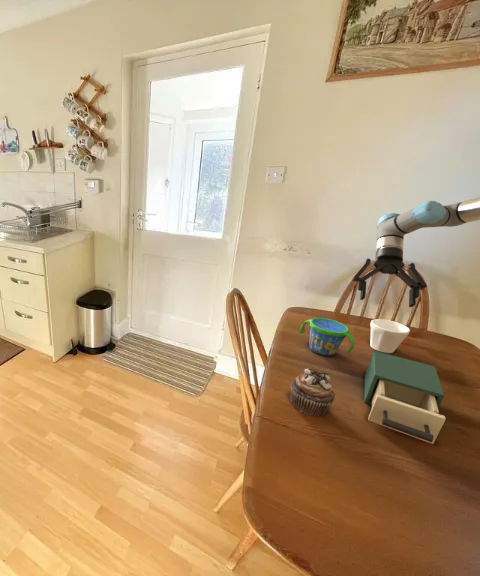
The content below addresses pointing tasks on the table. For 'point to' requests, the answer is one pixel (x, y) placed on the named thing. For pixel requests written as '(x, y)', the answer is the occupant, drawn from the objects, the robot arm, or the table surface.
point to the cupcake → (312, 392)
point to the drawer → (406, 411)
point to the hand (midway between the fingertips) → (386, 302)
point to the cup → (387, 335)
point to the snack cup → (327, 335)
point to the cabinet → (402, 375)
